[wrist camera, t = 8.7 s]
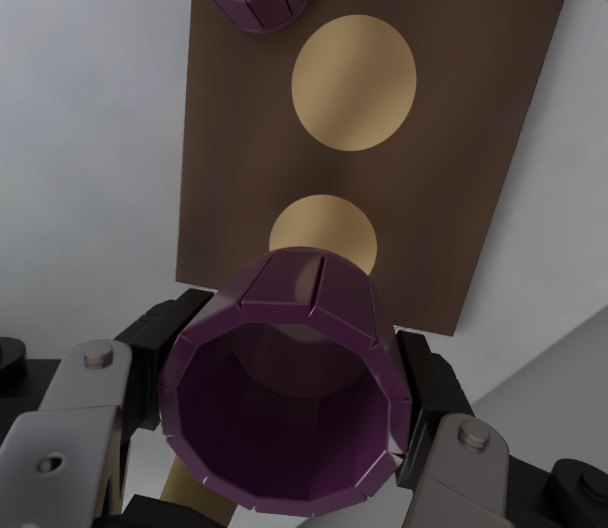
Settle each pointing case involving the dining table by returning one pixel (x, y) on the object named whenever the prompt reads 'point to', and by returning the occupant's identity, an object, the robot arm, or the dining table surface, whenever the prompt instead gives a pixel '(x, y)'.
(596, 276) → the dining table surface
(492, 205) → the metal board
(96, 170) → the dining table surface
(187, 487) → the yellow pawn figure
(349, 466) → the plum dish
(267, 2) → the plum dish
